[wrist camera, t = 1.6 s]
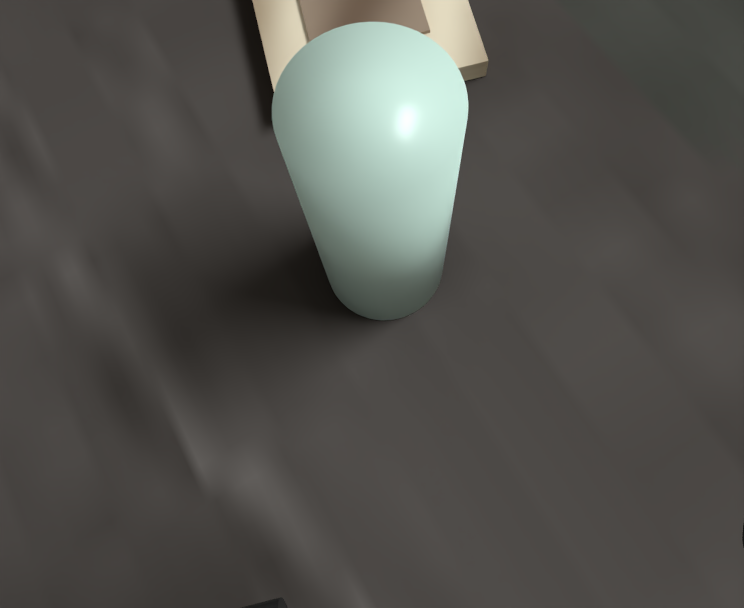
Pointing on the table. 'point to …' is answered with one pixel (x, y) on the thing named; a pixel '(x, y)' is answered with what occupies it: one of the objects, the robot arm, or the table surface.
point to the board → (369, 4)
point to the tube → (374, 159)
